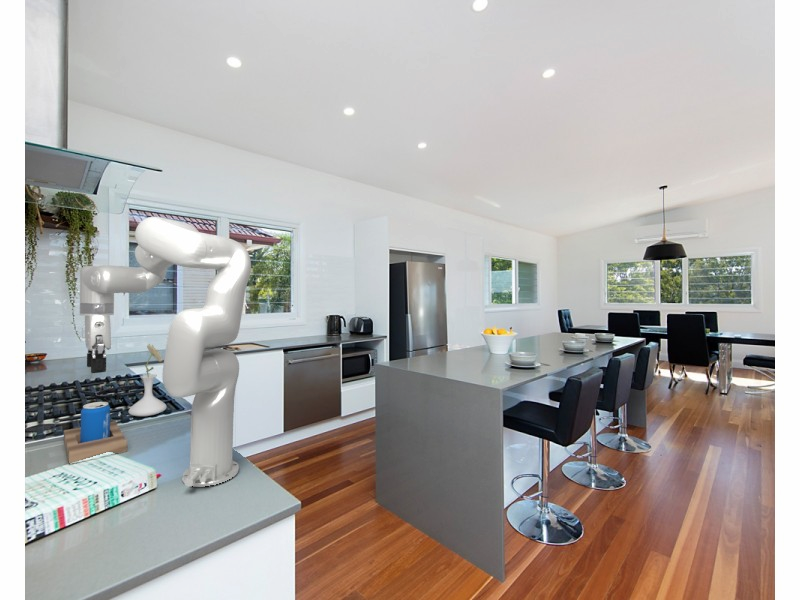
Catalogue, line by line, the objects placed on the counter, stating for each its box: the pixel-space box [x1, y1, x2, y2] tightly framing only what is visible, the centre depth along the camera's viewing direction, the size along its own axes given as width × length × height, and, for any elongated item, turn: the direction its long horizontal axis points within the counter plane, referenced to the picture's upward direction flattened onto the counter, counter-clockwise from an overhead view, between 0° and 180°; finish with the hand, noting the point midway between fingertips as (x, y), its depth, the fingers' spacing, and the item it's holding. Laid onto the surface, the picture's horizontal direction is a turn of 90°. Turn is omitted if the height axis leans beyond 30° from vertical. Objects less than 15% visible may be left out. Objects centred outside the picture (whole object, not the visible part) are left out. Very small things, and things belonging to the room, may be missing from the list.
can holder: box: [63, 420, 128, 464], centre depth 105 cm, size 20×12×3 cm, turn 46°
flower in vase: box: [128, 343, 168, 417], centre depth 133 cm, size 13×11×25 cm
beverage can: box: [80, 401, 111, 443], centre depth 105 cm, size 6×6×12 cm
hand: (96, 369), depth 105 cm, fingers open, 9 cm apart
